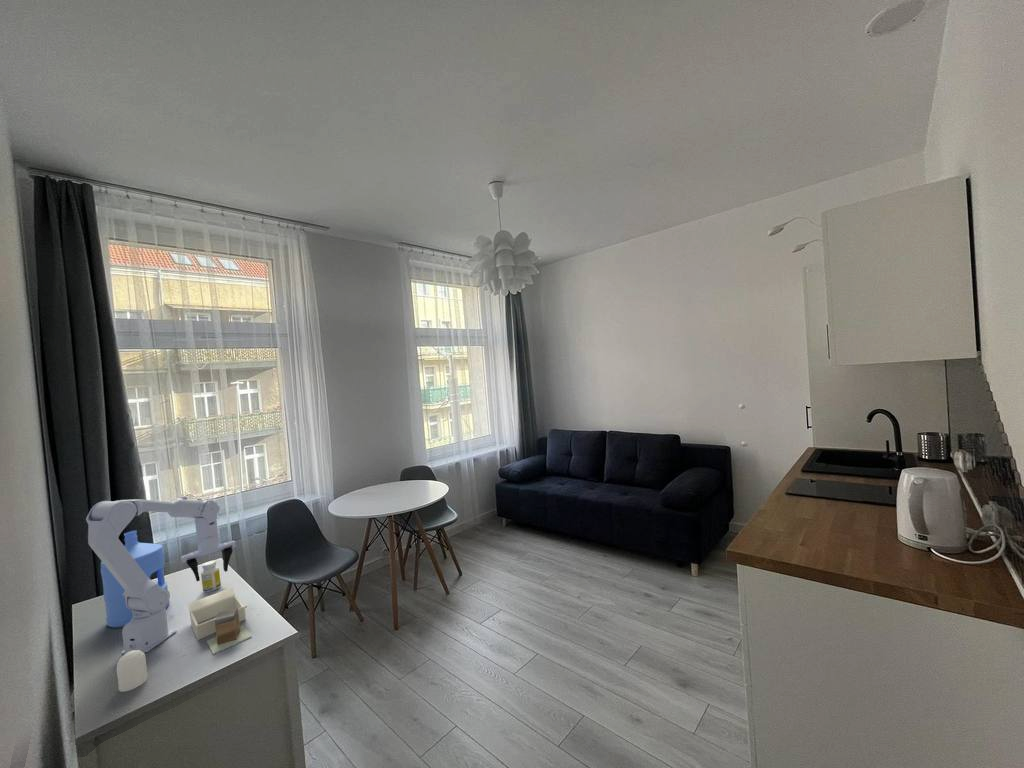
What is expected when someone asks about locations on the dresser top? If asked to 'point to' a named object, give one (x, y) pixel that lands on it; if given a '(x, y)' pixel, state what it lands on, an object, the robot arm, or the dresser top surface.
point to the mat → (241, 637)
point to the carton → (213, 611)
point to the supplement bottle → (210, 576)
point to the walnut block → (227, 626)
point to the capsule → (131, 670)
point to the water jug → (115, 602)
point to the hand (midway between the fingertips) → (212, 575)
